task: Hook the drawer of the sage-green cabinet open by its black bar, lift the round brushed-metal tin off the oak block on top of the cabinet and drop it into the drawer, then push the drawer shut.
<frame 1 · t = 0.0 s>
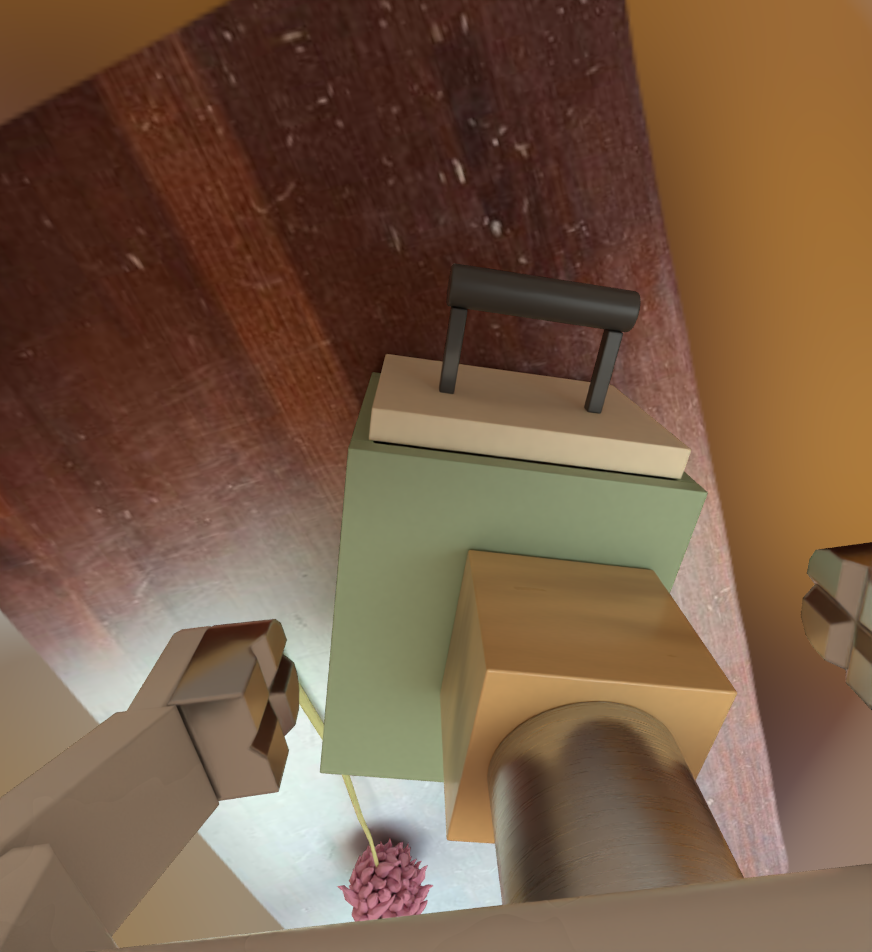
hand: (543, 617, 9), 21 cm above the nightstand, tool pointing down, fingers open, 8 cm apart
riser: (541, 635, 22), resting on cabinet
cabinet: (469, 520, 32), on the nightstand
artificial flower: (345, 770, 40), on the nightstand
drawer: (494, 497, 25), point 5 cm above the nightstand, slide at 0.0 cm, touching cabinet
tin: (582, 772, 16), point 17 cm above the nightstand, touching riser
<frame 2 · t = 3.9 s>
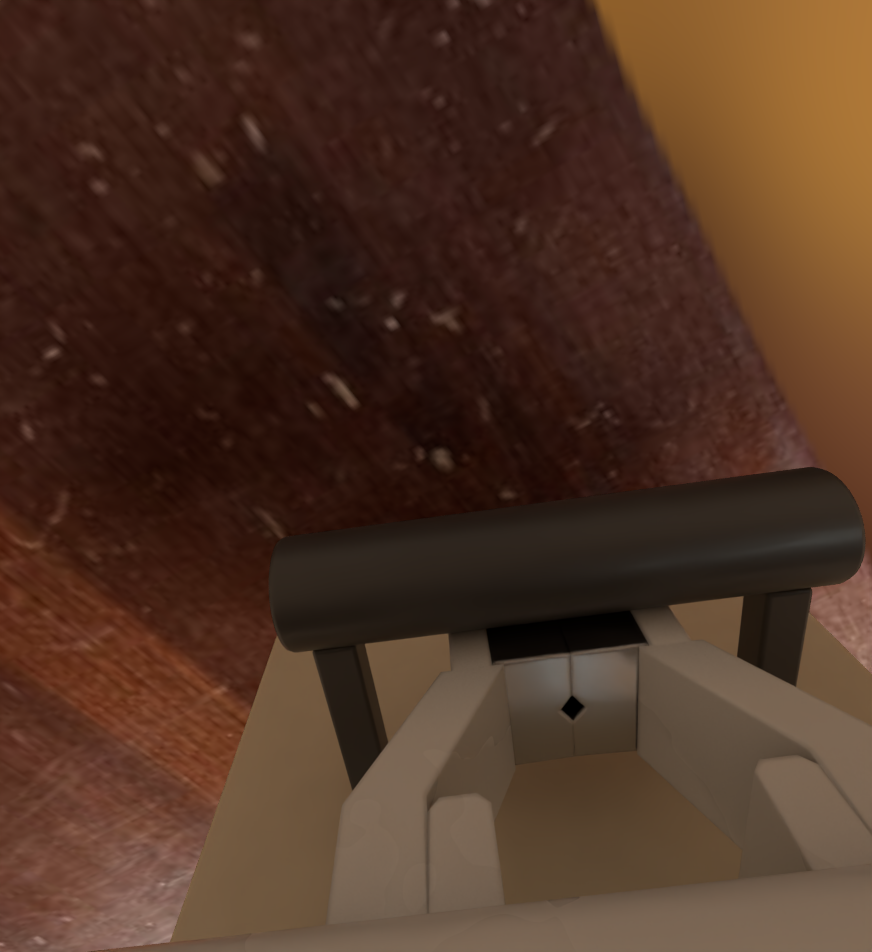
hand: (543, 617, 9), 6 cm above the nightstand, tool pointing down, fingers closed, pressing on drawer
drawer: (561, 885, 12), point 5 cm above the nightstand, slide at 3.3 cm, touching gripper
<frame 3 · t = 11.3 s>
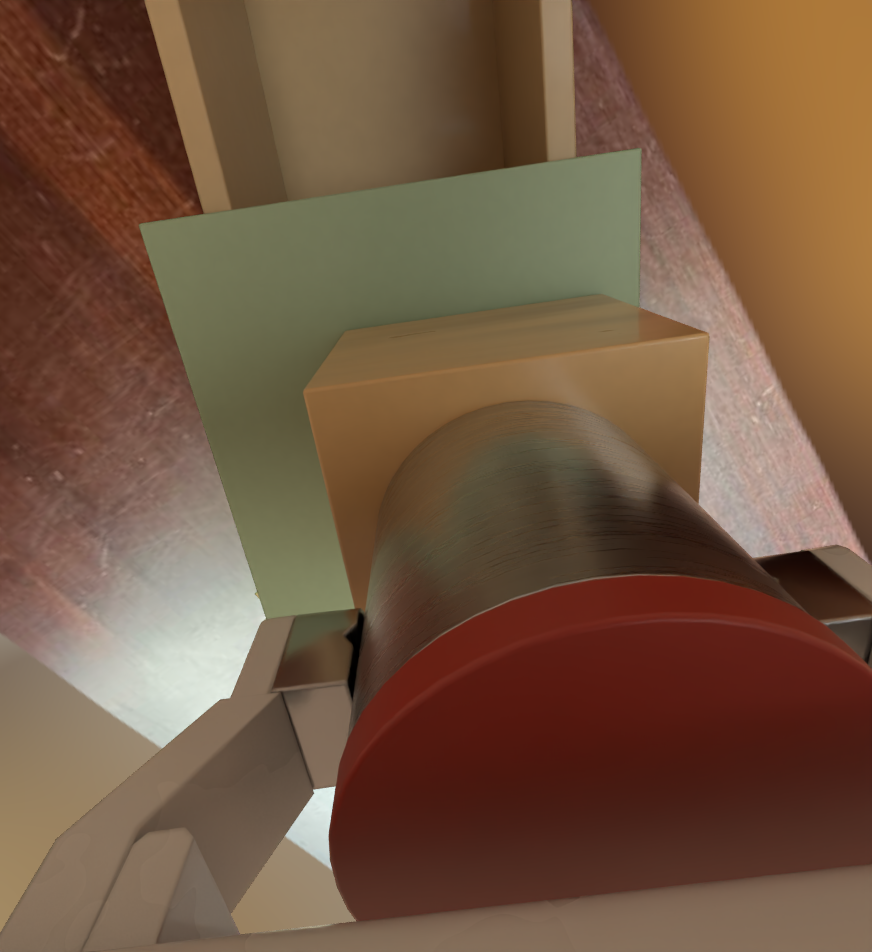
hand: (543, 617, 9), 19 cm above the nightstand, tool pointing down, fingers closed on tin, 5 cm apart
riser: (485, 434, 16), resting on cabinet
cabinet: (426, 383, 27), on the nightstand
tin: (520, 538, 11), point 17 cm above the nightstand, touching gripper, riser
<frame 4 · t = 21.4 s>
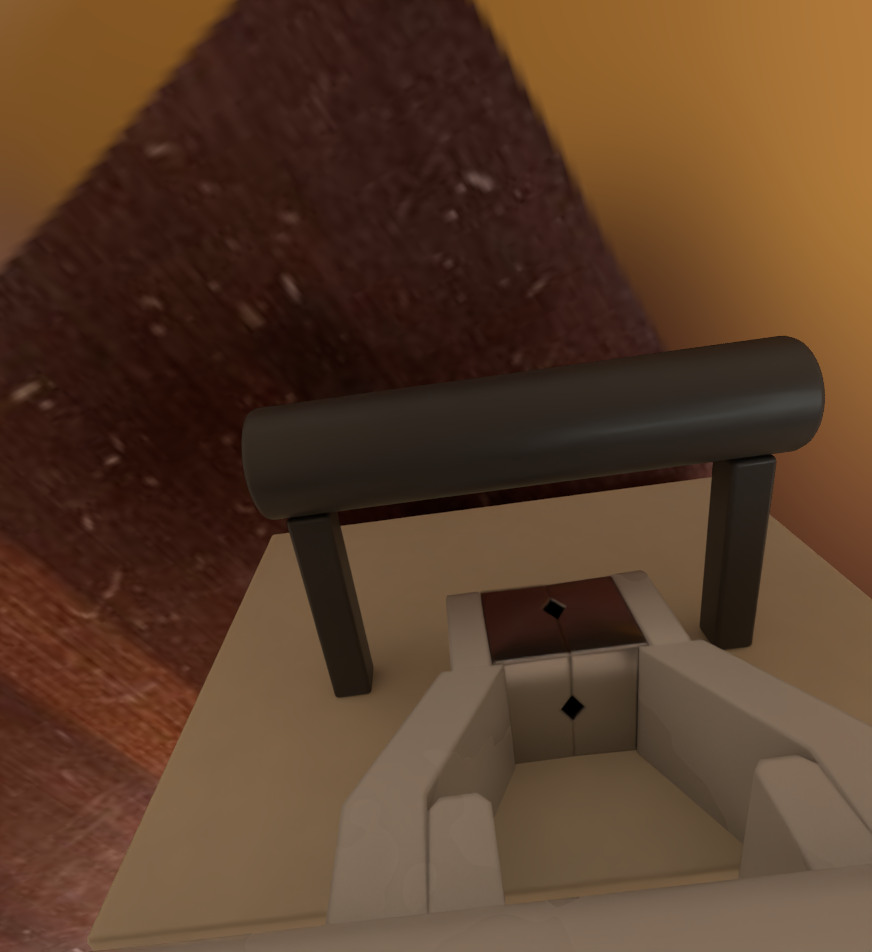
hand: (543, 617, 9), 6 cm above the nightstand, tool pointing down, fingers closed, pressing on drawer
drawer: (540, 797, 12), point 5 cm above the nightstand, slide at 7.8 cm, touching gripper, tin
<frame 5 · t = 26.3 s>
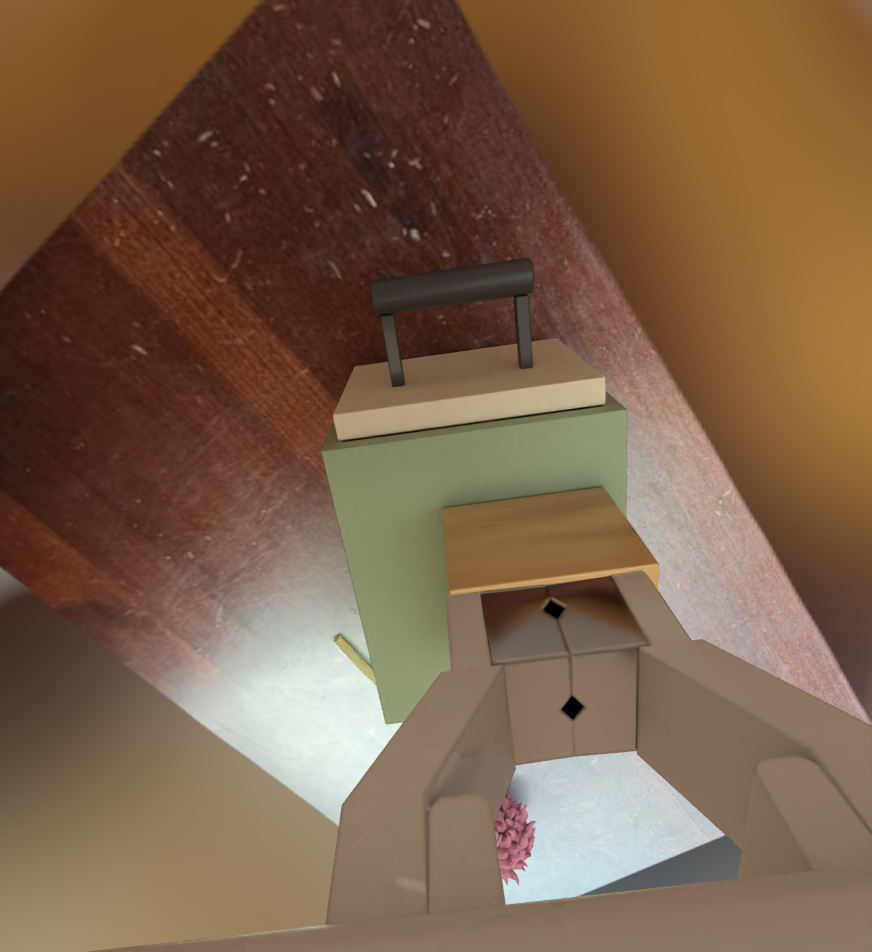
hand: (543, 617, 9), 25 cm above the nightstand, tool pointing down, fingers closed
riser: (528, 565, 25), resting on cabinet
cabinet: (471, 489, 36), on the nightstand
artificial flower: (433, 735, 45), on the nightstand
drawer: (471, 462, 29), point 5 cm above the nightstand, slide at 0.0 cm, touching tin
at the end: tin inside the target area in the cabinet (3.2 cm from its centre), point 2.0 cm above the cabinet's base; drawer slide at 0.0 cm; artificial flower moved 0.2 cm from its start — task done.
